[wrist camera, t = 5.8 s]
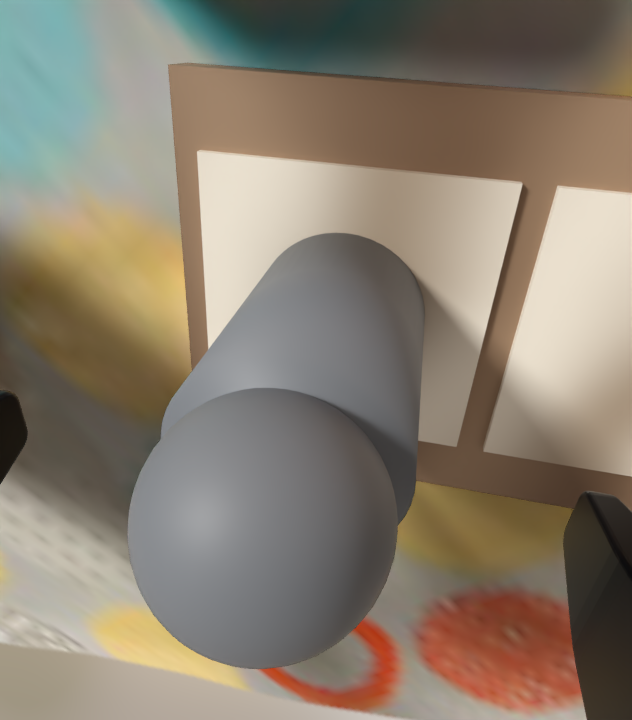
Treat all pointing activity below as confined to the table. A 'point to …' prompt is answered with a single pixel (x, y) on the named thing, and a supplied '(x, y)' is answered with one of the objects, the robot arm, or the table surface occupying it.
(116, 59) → the table surface
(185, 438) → the pawn
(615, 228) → the game board
